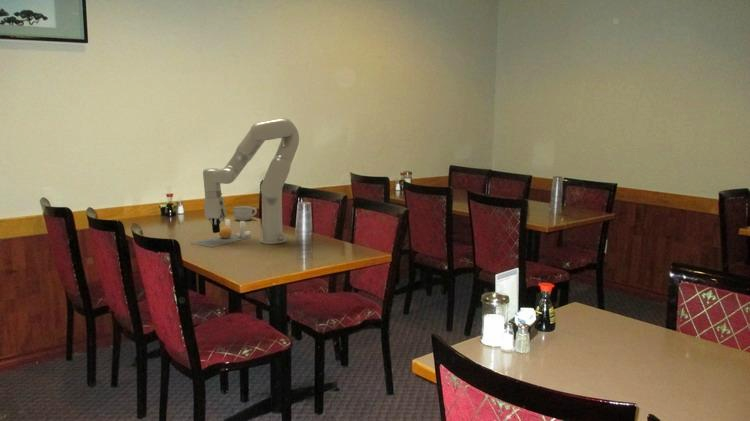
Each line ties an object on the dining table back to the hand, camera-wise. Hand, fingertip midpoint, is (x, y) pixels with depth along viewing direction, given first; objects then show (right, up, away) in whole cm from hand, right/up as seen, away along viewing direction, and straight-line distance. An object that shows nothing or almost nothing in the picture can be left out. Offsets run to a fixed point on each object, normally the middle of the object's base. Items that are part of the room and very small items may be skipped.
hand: (216, 232), depth 282 cm
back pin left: (+10, -3, +10) cm, 15 cm away
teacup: (+1, +4, +59) cm, 59 cm away
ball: (+2, 0, +9) cm, 9 cm away
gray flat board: (+1, -4, +5) cm, 7 cm away
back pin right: (+2, -2, +16) cm, 16 cm away
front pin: (+8, -2, +11) cm, 13 cm away
